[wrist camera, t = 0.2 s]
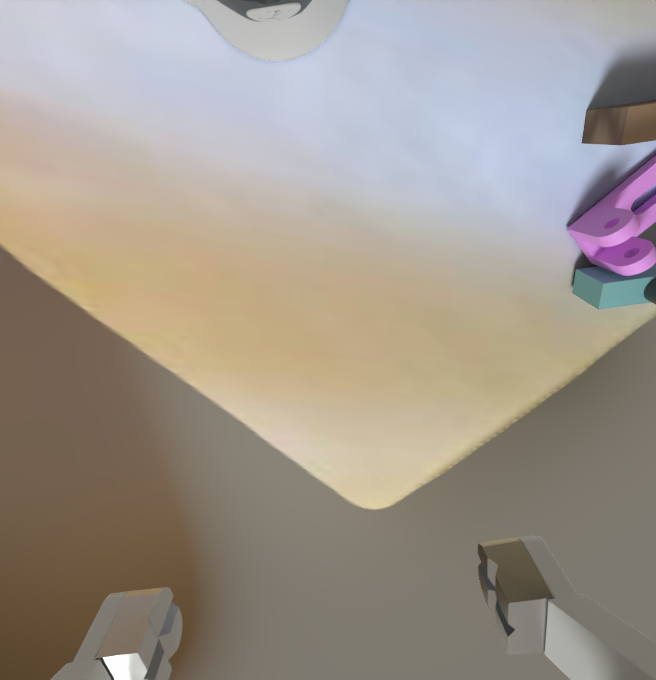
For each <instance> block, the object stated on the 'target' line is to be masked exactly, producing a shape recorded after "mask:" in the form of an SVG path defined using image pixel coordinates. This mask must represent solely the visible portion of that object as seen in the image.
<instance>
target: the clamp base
mask: <svg viewBox="0 0 656 680" xmlns="http://www.w3.org/2000/svg"><path fill="white" fill-rule="evenodd" d="M654 140H656V100H652V101H645V102H639V103H632V104H625V105H618V106H612V107H605V108H598V109H591V110H587V112H586V119H585V125H584V132H583V139H582V143H587V144H607V145H626V144H633V143H640V142H647V141H654ZM637 238H641V239H645V240H649V241H651V242H652V243H653V245H654V244H655V240H656V222H655V223H654V224H652V225H651V226H650V227H648V228H647V229H646V230H645V231H643V232H642V233H641V234H640V235H638V236H637Z"/></svg>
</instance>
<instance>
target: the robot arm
mask: <svg viewBox="0 0 656 680" xmlns="http://www.w3.org/2000/svg"><path fill="white" fill-rule="evenodd" d="M184 1H186V2H188V3H189V4H191V5H193V6H195V7H196V8H197V9H198V10H199V11H200V12H201V13H202V14H203V15H204V16H205V17H206V19H207V20H208V21H209V22H210V24H211V25H212V26H213V27H214V29H215V30H216V31H217V32H218V33H219V34H220V35H221V36H222V37H223V38H224V39H225V40H226V41H227V42H229V43H230V44H231V45H232V46H234V47H235V48H237V49H238V50H240V51H242V52H244V53H245V54H248V55H250V56H252V57H255V58H258V59H263V60H269V61H284V60H290V59H294V58H298V57H300V56H303V55H305V54H307V53H309V52H310V51H312V50H314V49H315V48H316V47H318V46H319V45H320V44H321V43H322V42H324V41H325V40H326V39H327V38H328V36H329V35H330V34H331V33H332V32H333V30H334V29H335V28H336V26H337V25H338V23H339V21H340V20H341V18H342V16H343V14H344V12H345V10H346V8H347V5H348V3H349V0H184ZM478 555H479V558H480V560H481V563H480V564H479V566H478V574H479V580H480V585H481V589H482V592H483V595H484V598H485V601H486V603H487V606H488V608H490V609H491V610H492V611H493V612H494V613H495V615H496V628H497V631H498V633H499V635H500V638H501V640H502V643H503V645H504V648H505V650H506V652H507V655H508V656H509V655H518V654H529V653H539V652H545V655H546V656H547V657H548V658H549V659H550V660H551V661H552V662H553V663H554V664H555V665H556V666H558V668H560V670H561V671H562V672H564V674H565V675H567V676H568V677H569V678H570V679H571V680H656V643H655V642H654V641H652V640H651V639H649V638H648V637H646V636H645V635H643V634H642V633H640V632H639V631H637V630H636V629H634V628H633V627H632V626H630V625H629V624H627V623H626V622H624V621H623V620H621V619H620V618H618V617H617V616H615V615H614V614H612V613H611V612H609V611H608V610H606V609H605V608H604V607H602V606H601V605H599V604H598V603H596V602H595V601H593V600H592V599H590V598H589V597H587V596H586V595H578V594H577V592H576V591H575V589H574V588H573V586H572V584H571V583H570V581H569V580H568V578H567V577H566V575H565V574H564V572H563V570H562V569H561V567H560V566H559V564H558V563H557V561H556V559H555V558H554V557H553V555H552V553H551V552H550V550H549V548H548V547H547V545H546V544H545V542H544V541H543V539H542V538H541V537H540V536H539V535H533V536H527V537H519V538H509V539H502V540H496V541H490V542H483V543H479V544H478ZM172 598H173V594H172V592H171V590H170V588H169V587H165V588H156V589H147V590H137V591H129V592H121V593H113V594H110V595H109V596H108V597H107V598H106V599H105V600H104V602H103V604H102V606H101V608H100V610H99V612H98V614H97V616H96V618H95V619H94V621H93V623H92V625H91V628H90V629H89V631H88V633H87V635H86V637H85V639H84V641H83V643H82V645H81V647H80V649H79V651H78V653H77V655H76V657H75V659H74V661H73V663H69V664H66V665H65V666H64V667H63V668H62V669H61V670H60V671H59V672H58V673H57V674H56V675H55V676H54V677H53V678H51V680H169V677H170V674H171V670H172V667H171V664H170V662H169V658H170V657H171V656H172V655H173V654H174V653H175V652H176V650H177V649H178V646H179V643H180V639H181V634H182V616H181V612H180V610H179V608H178V607H177V606H176V605H174V604H173V603H171V601H172Z"/></svg>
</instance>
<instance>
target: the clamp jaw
mask: <svg viewBox="0 0 656 680" xmlns="http://www.w3.org/2000/svg"><path fill="white" fill-rule="evenodd" d="M572 293H573V294H575V295H576V296H578V297H579V298H581V299H583V300H584V301H586V302H587V303H589V304H591V305H592V306H594V307H595V308H597V309H604V308H612V307H619V306H627V305H634V304H642V303H649V302H652V303H654V304H656V263H655V264H654V265H653V266H652V267H650V268H649V269H647V270H646V271H644V272H641V273H639V274H635V275H631V276H624V275H620V274H618V273H615V272H613V271H610V270H607V269H605V268H602V267H599V266H595V267H588V268H581V269H576V272H575V279H574V285H573V291H572Z"/></svg>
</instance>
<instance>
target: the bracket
mask: <svg viewBox="0 0 656 680" xmlns="http://www.w3.org/2000/svg"><path fill="white" fill-rule="evenodd" d="M655 184H656V155H655V156H654V157H653V158H651V159H650V160H649V161H648V162H646V163H645V164H644V165H643V166H642V167H640V168H639V169H638V170H637V171H636V172H634V173H633V174H632V175H631V176H630V177H628V178H627V179H626V180H625V181H624V182H622V183H621V184H620V185H619V186H617V187H616V188H615V189H614V190H613V191H611V192H610V193H609V194H608V195H607V196H605V197H604V198H603V199H602V200H601V201H599V202H598V203H597V204H596V205H595V206H593V207H592V208H591V209H590V210H589V211H587V212H586V213H585V214H584V215H583V216H581V217H580V218H579V219H578V220H577V221H575V222H574V223H573V224H572V225H571V226H569V227H568V228H567V230H568V232H569V233H570V234H571V236H572V237H573V239H574V240H575V241H576V243H577V244H578V246H579V247H580V248H581V250H582V251H583V252H584V254H585V255H586V257H587V258H588V259H589V261H590V262H591V263H592V264H594V265H597V266H599V267H602V268H605V269H607V270H610V271H613V272H615V273H618V274H620V275H624V276H631V275H635V274H639V273H641V272H644V271H646V270H647V269H649V268H650V267H652V266H653V265H654V264H655V263H656V248H655V246H654V245H653V243H652V242H651V241H649V240H645V239H641V238H637V236H638V235H640V234H641V233H642V232H643V231H645V230H646V229H647V228H648V227H650V226H651V225H652V224H654V223H655V222H656V194H655V195H654V196H653V197H651V198H650V199H649V200H648V201H646V202H645V203H644V204H643V205H641V206H640V207H639V208H638V209H636V210H635V211H634V212H632V210H631V207H632V204H633V202H634V201H635V200H636V199H637V198H638V197H640V196H641V195H642V194H643V193H645V192H646V191H647V190H648V189H650V188H651V187H652V186H653V185H655Z"/></svg>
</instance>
